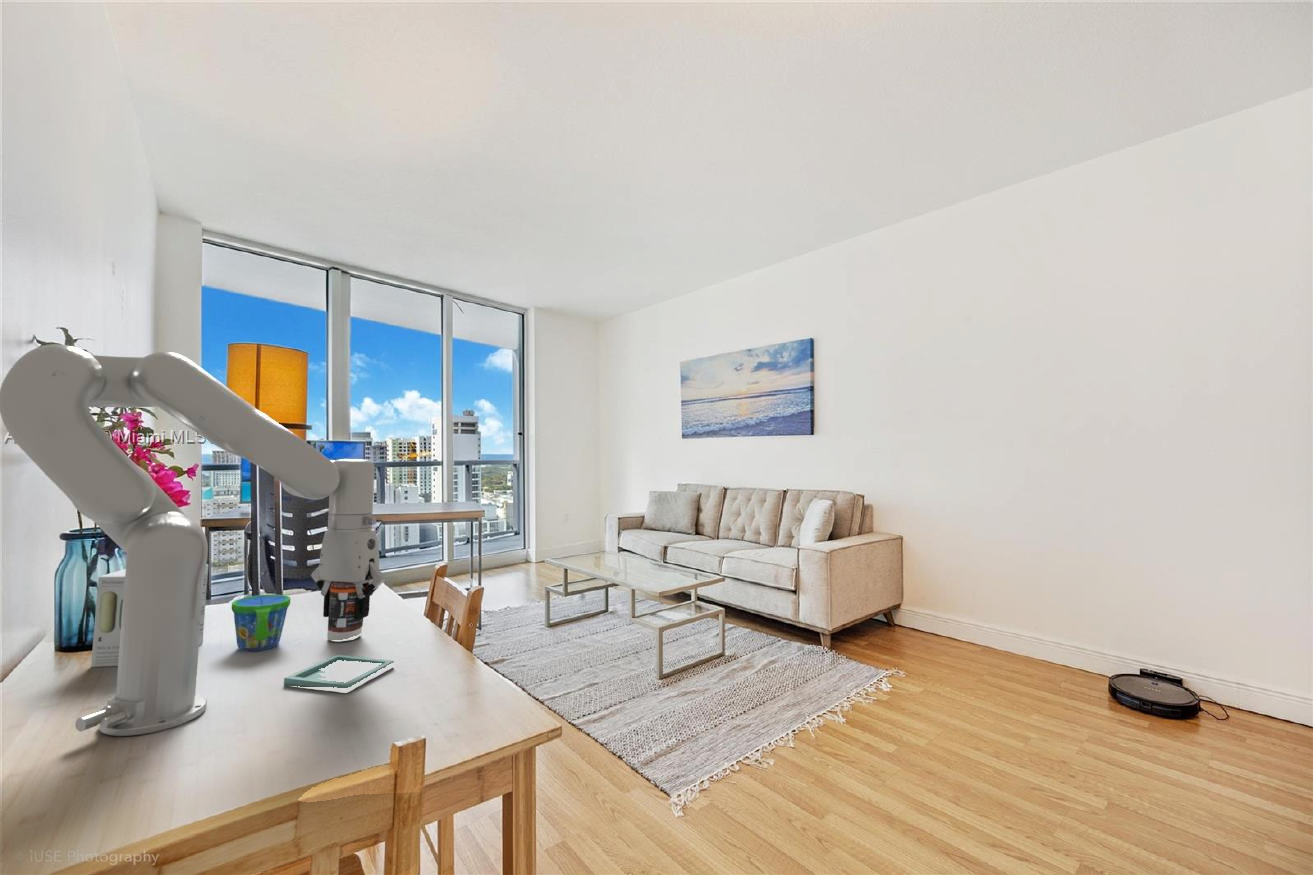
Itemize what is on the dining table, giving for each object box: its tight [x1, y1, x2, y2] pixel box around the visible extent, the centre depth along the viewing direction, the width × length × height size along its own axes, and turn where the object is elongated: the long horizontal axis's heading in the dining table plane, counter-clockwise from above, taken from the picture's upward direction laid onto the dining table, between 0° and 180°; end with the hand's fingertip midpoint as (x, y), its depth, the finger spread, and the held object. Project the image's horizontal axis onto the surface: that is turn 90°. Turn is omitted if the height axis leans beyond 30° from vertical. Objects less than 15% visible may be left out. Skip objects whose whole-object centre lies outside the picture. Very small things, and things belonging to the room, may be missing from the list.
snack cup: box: [231, 594, 291, 652], centre depth 123 cm, size 16×10×10 cm
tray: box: [283, 654, 395, 688], centre depth 107 cm, size 13×13×2 cm
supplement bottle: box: [327, 582, 365, 633], centre depth 108 cm, size 6×6×11 cm
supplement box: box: [90, 563, 209, 668], centre depth 116 cm, size 13×13×18 cm
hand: (346, 615), depth 108 cm, fingers closed on supplement bottle, 6 cm apart
